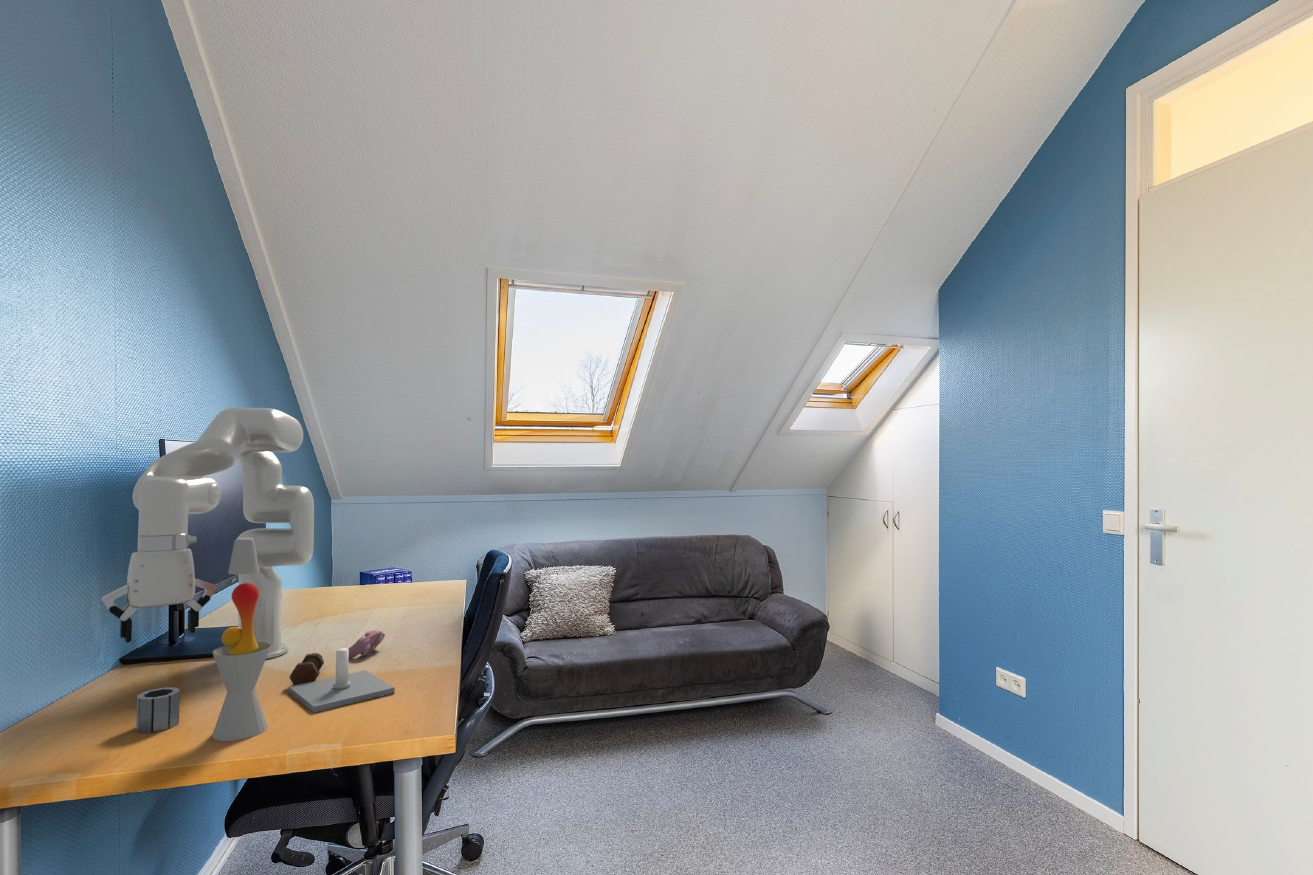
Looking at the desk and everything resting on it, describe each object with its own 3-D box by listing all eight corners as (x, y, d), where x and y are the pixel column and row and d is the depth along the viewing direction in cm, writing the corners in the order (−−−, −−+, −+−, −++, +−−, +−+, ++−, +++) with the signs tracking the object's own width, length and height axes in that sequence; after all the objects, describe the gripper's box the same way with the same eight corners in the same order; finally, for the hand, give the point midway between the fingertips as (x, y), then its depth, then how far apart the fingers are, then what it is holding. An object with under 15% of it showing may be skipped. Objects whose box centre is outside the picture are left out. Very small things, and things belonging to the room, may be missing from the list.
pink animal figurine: (357, 666, 167) (369, 641, 167) (342, 656, 167) (354, 631, 167) (379, 654, 177) (390, 630, 176) (365, 645, 177) (376, 622, 177)
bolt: (318, 674, 161) (307, 693, 147) (298, 665, 160) (284, 683, 146) (332, 652, 162) (322, 668, 148) (312, 643, 161) (300, 658, 147)
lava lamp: (272, 718, 129) (275, 534, 130) (264, 736, 121) (268, 540, 122) (216, 725, 126) (221, 536, 127) (205, 744, 117) (209, 542, 118)
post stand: (288, 692, 144) (289, 649, 144) (365, 675, 155) (366, 635, 155) (313, 712, 132) (314, 666, 132) (394, 693, 143) (395, 650, 144)
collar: (134, 725, 126) (135, 692, 126) (175, 716, 130) (175, 685, 130) (139, 735, 121) (140, 701, 121) (181, 725, 125) (182, 693, 126)
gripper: (212, 538, 135) (210, 625, 135) (101, 546, 123) (98, 640, 123) (221, 542, 130) (219, 631, 129) (105, 550, 118) (102, 649, 117)
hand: (160, 636), depth 126 cm, fingers open, 9 cm apart
